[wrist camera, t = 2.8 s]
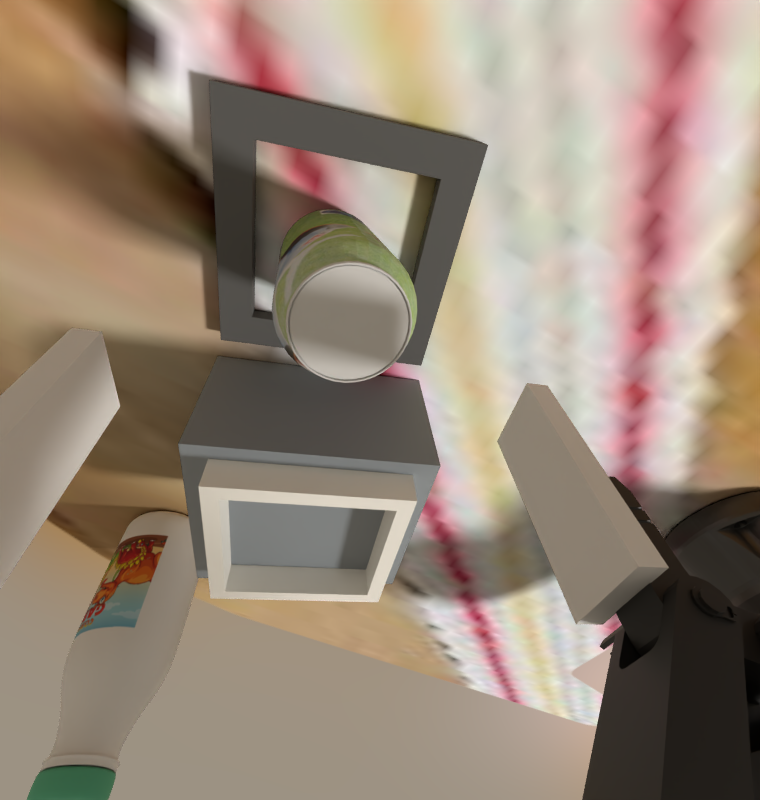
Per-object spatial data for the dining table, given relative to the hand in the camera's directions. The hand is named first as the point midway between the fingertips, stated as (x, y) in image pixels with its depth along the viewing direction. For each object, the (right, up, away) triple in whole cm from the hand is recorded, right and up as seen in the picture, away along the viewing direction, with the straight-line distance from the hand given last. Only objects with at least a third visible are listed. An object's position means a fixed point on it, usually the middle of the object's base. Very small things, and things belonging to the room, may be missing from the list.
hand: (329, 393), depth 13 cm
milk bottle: (-20, -13, +28) cm, 37 cm away
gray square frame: (-1, +9, +12) cm, 15 cm away
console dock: (-4, -3, +22) cm, 22 cm away
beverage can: (-1, +9, +12) cm, 15 cm away
